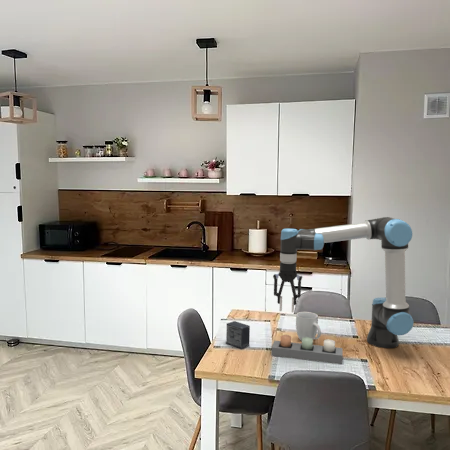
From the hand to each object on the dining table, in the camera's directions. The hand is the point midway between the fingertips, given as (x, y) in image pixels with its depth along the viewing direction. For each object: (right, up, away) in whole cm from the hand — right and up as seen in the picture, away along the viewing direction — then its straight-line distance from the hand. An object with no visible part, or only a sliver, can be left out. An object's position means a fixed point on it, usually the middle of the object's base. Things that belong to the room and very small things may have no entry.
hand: (286, 310), depth 203 cm
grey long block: (+9, -21, 0) cm, 23 cm away
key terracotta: (0, -16, +2) cm, 17 cm away
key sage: (+9, -17, -1) cm, 19 cm away
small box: (-23, -19, +12) cm, 32 cm away
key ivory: (+19, -17, -3) cm, 26 cm away
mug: (+13, -19, +19) cm, 30 cm away
